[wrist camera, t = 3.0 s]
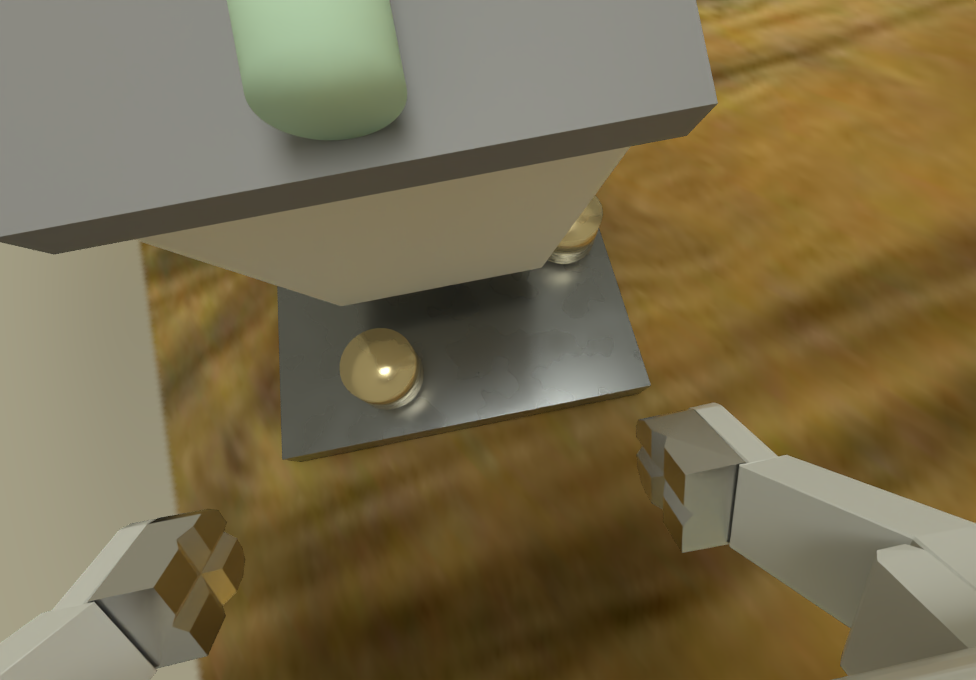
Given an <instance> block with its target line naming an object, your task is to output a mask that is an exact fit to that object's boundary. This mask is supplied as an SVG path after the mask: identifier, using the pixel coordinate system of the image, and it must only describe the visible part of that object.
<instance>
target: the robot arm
mask: <svg viewBox="0 0 976 680" xmlns="http://www.w3.org/2000/svg"><path fill="white" fill-rule="evenodd" d="M636 437H637V439H638V440H639V442H640V443H641V444H642V448H641V449H640V451H639V452H638V453H637V469H638V473H639V477H640V481H641V483H642V486H643V488H644V490H645V493H646V494H647V496H648V498H649V500H650V501H651V503H652V504H654V505H656V506H658V507H660V508H661V509H663V523H664V525H665V526H666V528H667V529H668V531H669V533H670V534H671V536H672V538H673V539H674V541H675V543H676V544H677V546H678V547H679V549H680V551H681V552H682V553H684V552H689V551H695V550H700V549H705V548H711V547H716V546H721V545H727V544H730V546H729V547H731V548H732V549H734V550H735V551H737V552H738V553H740V554H741V555H743V556H744V557H746V558H747V559H749V560H750V561H752V562H753V563H755V564H756V565H758V566H759V567H760V568H762V569H763V570H765V571H766V572H768V573H769V574H771V575H772V576H774V577H775V578H777V579H778V580H780V581H781V582H783V583H784V584H786V585H787V586H789V587H790V588H792V589H793V590H795V591H796V592H798V593H799V594H801V595H802V596H803V597H805V598H806V599H808V600H809V601H811V602H812V603H814V604H815V605H817V606H818V607H820V608H821V609H823V610H824V611H826V612H827V613H829V614H830V615H832V616H833V617H835V618H836V619H838V620H839V621H841V622H842V623H844V624H845V625H846V626H848V627H849V628H851V629H850V632H849V635H848V638H847V641H846V644H845V647H844V650H843V653H842V657H841V663H840V666H841V667H842V668H843V670H844V671H845V672H846V674H847V675H848V676H846V677H841V678H837V679H832V680H976V523H973V522H970V521H968V520H965V519H962V518H959V517H957V516H954V515H951V514H948V513H946V512H943V511H940V510H937V509H935V508H932V507H929V506H926V505H924V504H921V503H918V502H915V501H913V500H910V499H907V498H904V497H901V496H899V495H896V494H893V493H890V492H888V491H885V490H882V489H879V488H877V487H874V486H871V485H868V484H866V483H863V482H860V481H857V480H855V479H852V478H849V477H846V476H844V475H841V474H838V473H835V472H833V471H830V470H827V469H824V468H822V467H819V466H816V465H813V464H811V463H808V462H805V461H802V460H799V459H797V458H794V457H791V456H788V455H784V456H779V457H778V456H777V455H776V454H775V453H774V452H773V451H772V450H770V449H769V448H768V447H767V446H766V445H765V444H764V443H763V442H762V441H760V440H759V439H758V438H757V437H756V436H755V435H754V434H753V433H752V432H750V431H749V430H748V429H747V428H746V427H745V426H744V425H743V424H742V423H740V422H739V421H738V420H737V419H736V418H735V417H734V416H733V415H732V414H730V413H729V412H728V411H727V410H726V409H725V408H724V407H723V406H721V405H720V404H717V403H710V404H705V405H701V406H697V407H692V408H689V409H687V410H681V411H677V412H672V413H667V414H663V415H658V416H653V417H649V418H644V419H639V420H638V422H637V425H636ZM226 524H227V521H226V520H225V518H224V517H223V515H222V514H221V513H220V511H219V510H216V509H204V510H199V511H193V512H188V513H183V514H177V515H172V516H166V517H161V518H157V519H153V520H147V521H142V522H136V523H132V524H129V525H127V526H125V527H124V528H122V529H120V530H119V531H118V532H117V533H116V534H115V535H114V537H113V538H112V539H111V540H110V542H109V543H108V544H107V545H106V546H105V547H104V549H103V550H102V551H101V552H100V553H99V555H98V556H97V557H96V558H95V560H94V561H93V562H92V563H91V564H90V565H89V567H88V568H87V569H86V570H85V571H84V572H83V574H82V575H81V576H80V577H79V578H78V580H77V581H76V582H75V583H74V584H73V586H72V587H71V588H70V589H69V591H68V592H67V593H66V594H65V595H64V596H63V598H62V599H61V600H60V601H59V603H58V604H57V605H56V606H55V607H54V608H53V609H52V611H48V612H44V613H41V614H40V615H39V616H37V617H35V618H34V619H33V620H31V621H30V622H28V623H27V624H26V625H24V626H23V627H22V628H20V629H19V630H17V631H16V632H15V633H13V634H12V635H11V636H9V637H8V638H6V639H5V640H4V641H2V642H1V643H0V680H150V679H151V678H152V677H153V676H154V674H155V673H156V672H157V670H156V669H157V668H161V667H165V666H169V665H173V664H177V663H181V662H185V661H189V660H193V659H197V658H201V657H205V656H208V654H209V652H210V650H211V648H212V645H213V643H214V641H215V639H216V637H217V634H218V632H219V630H220V628H221V626H222V623H223V621H224V619H225V617H226V615H225V611H224V608H223V605H224V604H225V603H226V602H227V601H228V600H229V599H230V598H231V597H232V596H233V595H234V594H235V593H236V592H237V590H238V588H239V585H240V583H241V581H242V578H243V575H244V566H245V556H244V552H243V548H242V546H241V544H240V542H239V541H238V539H237V538H235V537H233V536H231V535H229V534H227V533H225V532H224V530H225V527H226Z"/></svg>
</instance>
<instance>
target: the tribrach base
mask: <svg viewBox="0 0 976 680" xmlns="http://www.w3.org/2000/svg"><path fill="white" fill-rule="evenodd" d="M602 216H603V211H602V206H601V203H600V201H599V199H598V198H597V197H596V195H595V196H594V197H593V198H592V200H591V201H590V202H589V204H588V205H587V206H586V208H585V209H584V211H583V212H582V213H581V215H580V216H579V217H578V219H577V220H576V221H575V223H574V224H573V226H572V227H571V228H570V230H569V231H568V232H567V234H566V235H565V237H564V238H563V239H562V241H561V242H560V243H559V245H558V246H557V247H556V249H555V250H554V252H553V253H552V254H551V256H550V257H549V258H548V260H547V261H546V262H545V264H544V265H543V267H542V268H537V269H532V270H527V271H522V272H517V273H511V274H506V275H501V276H496V277H491V278H486V279H480V280H475V281H470V282H465V283H460V284H454V285H449V286H444V287H439V288H434V289H429V290H423V291H418V292H413V293H408V294H403V295H398V296H392V297H387V298H382V299H377V300H372V301H367V302H361V303H356V304H351V305H346V306H339V305H335V304H332V303H329V302H326V301H323V300H320V299H317V298H314V297H311V296H308V295H305V294H301V293H298V292H295V291H292V290H289V289H286V288H283V287H280V286H277V287H278V323H279V359H280V395H281V431H282V460H290V461H299V462H302V461H307V460H312V459H317V458H322V457H327V456H332V455H337V454H342V453H347V452H352V451H357V450H362V449H367V448H372V447H376V446H381V445H386V444H391V443H396V442H401V441H406V440H411V439H416V438H421V437H426V436H431V435H436V434H441V433H446V432H451V431H456V430H461V429H466V428H471V427H476V426H481V425H486V424H491V423H496V422H500V421H505V420H510V419H515V418H520V417H525V416H530V415H535V414H540V413H545V412H550V411H555V410H560V409H565V408H570V407H575V406H580V405H585V404H590V403H595V402H600V401H605V400H610V399H615V398H620V397H624V396H629V395H634V394H639V393H641V392H642V391H644V390H645V389H646V388H648V387H649V386H651V384H650V381H649V378H648V375H647V372H646V369H645V366H644V363H643V360H642V357H641V354H640V351H639V348H638V345H637V342H636V339H635V336H634V333H633V330H632V327H631V324H630V321H629V318H628V315H627V312H626V309H625V306H624V303H623V300H622V297H621V294H620V291H619V288H618V285H617V282H616V278H615V275H614V272H613V269H612V266H611V263H610V260H609V257H608V254H607V251H606V248H605V245H604V242H603V239H602V236H601V233H600V230H599V226H600V223H601V221H602Z"/></svg>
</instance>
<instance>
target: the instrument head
mask: <svg viewBox="0 0 976 680" xmlns="http://www.w3.org/2000/svg"><path fill="white" fill-rule="evenodd" d="M717 103H718V102H717V97H716V92H715V88H714V83H713V78H712V74H711V69H710V64H709V60H708V55H707V50H706V45H705V41H704V36H703V31H702V27H701V22H700V17H699V13H698V8H697V3H696V0H0V242H2V243H7V244H11V245H15V246H19V247H24V248H28V249H33V250H37V251H42V252H46V253H50V254H59V253H64V252H69V251H75V250H80V249H85V248H91V247H96V246H101V245H107V244H112V243H117V242H122V241H128V240H133V239H135V240H138V241H141V242H144V243H147V244H150V245H153V246H156V247H159V248H162V249H165V250H169V251H172V252H175V253H178V254H181V255H184V256H187V257H190V258H193V259H196V260H199V261H203V262H206V263H209V264H212V265H215V266H218V267H221V268H224V269H227V270H230V271H233V272H237V273H240V274H243V275H246V276H249V277H252V278H255V279H258V280H261V281H264V282H267V283H271V284H274V285H277V286H280V287H283V288H286V289H289V290H292V291H295V292H298V293H301V294H305V295H308V296H311V297H314V298H317V299H320V300H323V301H326V302H329V303H332V304H335V305H339V306H346V305H351V304H356V303H361V302H367V301H372V300H377V299H382V298H387V297H392V296H398V295H403V294H408V293H413V292H418V291H423V290H429V289H434V288H439V287H444V286H449V285H454V284H460V283H465V282H470V281H475V280H480V279H486V278H491V277H496V276H501V275H506V274H511V273H517V272H522V271H527V270H532V269H537V268H542V267H543V265H544V264H545V262H546V261H547V260H548V258H549V257H550V256H551V254H552V253H553V252H554V250H555V249H556V247H557V246H558V245H559V243H560V242H561V241H562V239H563V238H564V237H565V235H566V234H567V232H568V231H569V230H570V228H571V227H572V226H573V224H574V223H575V221H576V220H577V219H578V217H579V216H580V215H581V213H582V212H583V211H584V209H585V208H586V206H587V205H588V204H589V202H590V201H591V200H592V198H593V197H594V196H595V194H596V193H597V191H598V190H599V189H600V187H601V186H602V185H603V183H604V182H605V181H606V179H607V178H608V176H609V175H610V174H611V172H612V171H613V170H614V168H615V167H616V165H617V164H618V163H619V161H620V160H621V159H622V157H623V156H624V155H625V153H626V152H627V150H628V149H629V148H630V146H634V145H640V144H645V143H650V142H656V141H661V140H666V139H672V138H677V137H682V136H687V135H688V134H689V133H690V132H691V131H692V130H693V129H694V128H695V126H696V125H697V124H698V123H699V122H700V121H701V120H702V119H703V118H704V117H705V116H706V115H707V114H708V113H709V112H710V111H711V110H712V109H713V108H714V107H715V106H716V105H717Z"/></svg>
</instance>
